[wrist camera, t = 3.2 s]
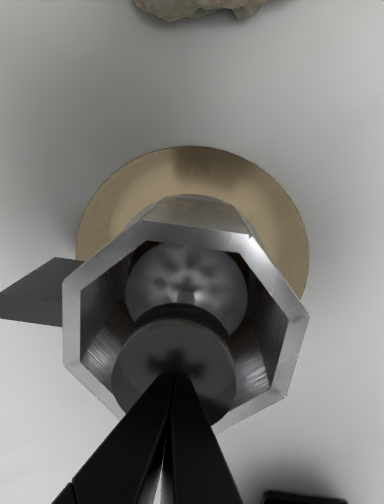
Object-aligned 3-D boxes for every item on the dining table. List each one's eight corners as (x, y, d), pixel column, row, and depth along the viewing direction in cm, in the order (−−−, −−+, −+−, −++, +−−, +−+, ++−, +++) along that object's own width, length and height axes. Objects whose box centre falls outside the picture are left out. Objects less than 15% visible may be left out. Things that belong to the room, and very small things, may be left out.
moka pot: (336, 165, 14) (450, 169, 8) (278, 375, 18) (319, 499, 12) (76, 129, 14) (-37, 103, 8) (75, 347, 18) (1, 453, 12)
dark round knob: (256, 246, 12) (296, 313, 7) (234, 351, 14) (252, 471, 9) (132, 228, 12) (75, 282, 7) (125, 335, 14) (74, 445, 9)
